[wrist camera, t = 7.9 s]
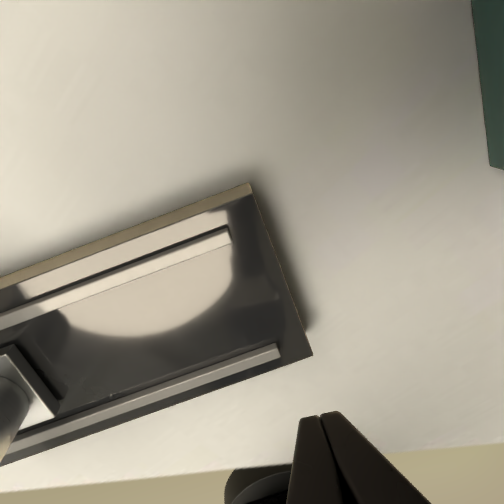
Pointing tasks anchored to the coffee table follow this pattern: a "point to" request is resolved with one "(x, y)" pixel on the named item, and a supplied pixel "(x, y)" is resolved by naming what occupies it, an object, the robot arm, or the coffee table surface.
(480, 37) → the button block
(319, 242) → the coffee table surface
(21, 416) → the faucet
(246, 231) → the slide rail base
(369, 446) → the robot arm
